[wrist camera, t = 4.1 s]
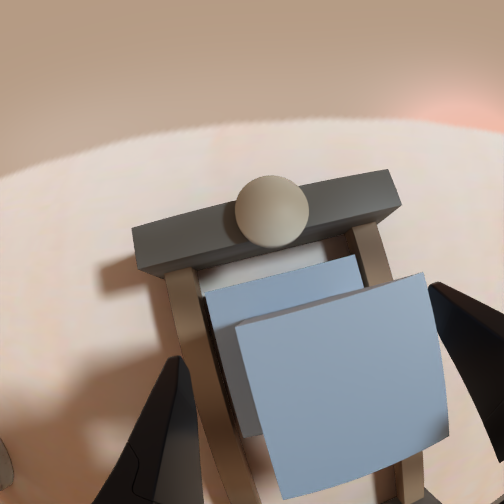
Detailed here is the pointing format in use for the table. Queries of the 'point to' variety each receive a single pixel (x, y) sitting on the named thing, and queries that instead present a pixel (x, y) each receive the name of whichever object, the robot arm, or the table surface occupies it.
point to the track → (253, 244)
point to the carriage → (332, 371)
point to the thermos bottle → (5, 468)
